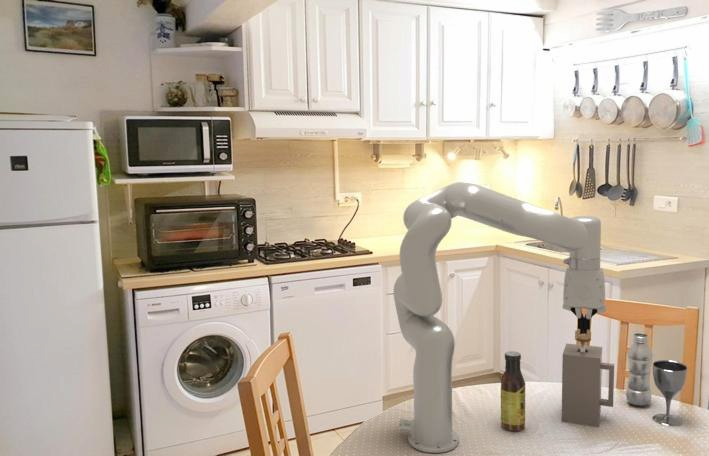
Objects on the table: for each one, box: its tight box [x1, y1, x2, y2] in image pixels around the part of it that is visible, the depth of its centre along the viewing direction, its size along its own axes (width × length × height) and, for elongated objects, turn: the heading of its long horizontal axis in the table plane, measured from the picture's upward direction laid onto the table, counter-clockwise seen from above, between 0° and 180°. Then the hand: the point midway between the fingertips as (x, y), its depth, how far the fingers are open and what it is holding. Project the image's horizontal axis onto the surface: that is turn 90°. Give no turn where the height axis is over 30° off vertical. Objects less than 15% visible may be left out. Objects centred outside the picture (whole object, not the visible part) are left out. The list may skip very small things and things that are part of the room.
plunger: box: [574, 329, 592, 352], centre depth 165 cm, size 7×7×19 cm
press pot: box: [561, 342, 615, 428], centre depth 165 cm, size 12×9×19 cm
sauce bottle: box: [500, 350, 526, 432], centre depth 161 cm, size 7×6×20 cm
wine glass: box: [652, 359, 688, 427], centre depth 162 cm, size 8×8×15 cm
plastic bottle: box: [625, 332, 654, 407], centre depth 172 cm, size 6×7×20 cm
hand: (583, 331), depth 163 cm, fingers closed
